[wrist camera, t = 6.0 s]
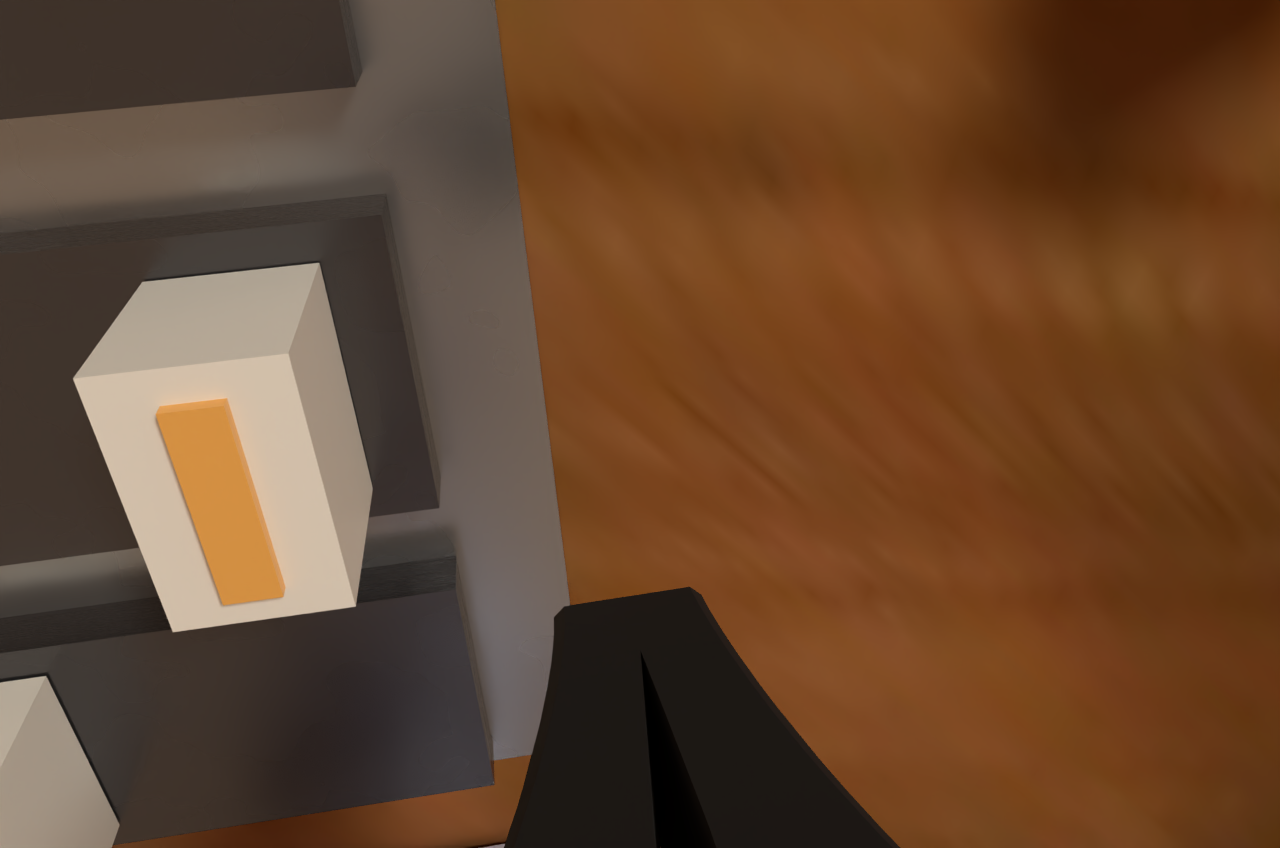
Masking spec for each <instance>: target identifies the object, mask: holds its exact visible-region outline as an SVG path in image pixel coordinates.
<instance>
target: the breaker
mask: <svg viewBox="0 0 1280 848" xmlns="http://www.w3.org/2000/svg"><path fill="white" fill-rule="evenodd" d="M118 828H119V823H118V821H117V818H116V816H115V814H114V812H113V810H112V808H111V806H110V804H109V802H108V800H107V798H106V796H105V794H104V792H103V790H102V788H101V786H100V784H99V782H98V780H97V778H96V776H95V774H94V772H93V770H92V768H91V766H90V764H89V762H88V760H87V758H86V756H85V754H84V752H83V750H82V748H81V746H80V744H79V742H78V740H77V737H76V735H75V733H74V731H73V729H72V727H71V725H70V723H69V721H68V719H67V717H66V715H65V713H64V711H63V709H62V707H61V705H60V703H59V701H58V699H57V697H56V695H55V693H54V691H53V689H52V687H51V685H50V683H49V681H48V679H47V677H46V676H42V677H35V678H28V679H21V680H14V681H7V682H0V848H112V845H113V843H114V840H115V837H116V834H117V831H118Z"/></svg>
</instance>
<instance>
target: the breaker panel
mask: <svg viewBox="0 0 1280 848" xmlns="http://www.w3.org/2000/svg"><path fill="white" fill-rule="evenodd" d="M313 263H320V268H321V272H322V276H323V280H324V284H325V289H326V293H327V297H328V301H329V306H330V310H331V314H332V318H333V322H334V327H335V331H336V335H337V339H338V344H339V348H340V352H341V356H342V360H343V365H344V369H345V373H346V377H347V382H348V386H349V390H350V394H351V398H352V403H353V407H354V411H355V415H356V420H357V424H358V428H359V432H360V436H361V441H362V445H363V449H364V453H365V458H366V462H367V466H368V470H369V475H370V479H371V483H372V487H373V491H372V498H371V505H370V511H369V518H368V525H367V532H366V539H365V546H364V553H363V560H362V567H361V574H360V581H359V588H358V594H357V601H356V607H350V608H342V609H335V610H328V611H321V612H314V613H307V614H300V615H293V616H285V617H278V618H271V619H264V620H257V621H250V622H243V623H235V624H228V625H221V626H214V627H207V628H200V629H193V630H186V631H178V632H173V631H172V629H171V626H170V624H169V621H168V619H167V616H166V613H165V611H164V608H163V606H162V603H161V601H160V598H159V596H158V593H157V591H156V588H155V586H154V583H153V580H152V578H151V575H150V573H149V570H148V568H147V565H146V563H145V560H144V558H143V555H142V553H141V550H140V547H139V545H138V542H137V540H136V537H135V535H134V532H133V530H132V527H131V525H130V522H129V520H128V517H127V514H126V512H125V509H124V507H123V504H122V502H121V499H120V497H119V494H118V492H117V489H116V487H115V484H114V481H113V479H112V476H111V474H110V471H109V469H108V466H107V464H106V461H105V459H104V456H103V454H102V451H101V448H100V446H99V443H98V441H97V438H96V436H95V433H94V431H93V428H92V426H91V423H90V421H89V418H88V416H87V413H86V410H85V408H84V405H83V403H82V400H81V398H80V395H79V393H78V390H77V388H76V385H75V383H74V380H73V378H74V376H75V375H76V374H77V372H78V371H79V369H80V368H81V367H82V365H83V364H84V362H85V361H86V360H87V358H88V357H89V356H90V354H91V353H92V351H93V350H94V349H95V347H96V346H97V344H98V343H99V342H100V340H101V339H102V337H103V336H104V335H105V333H106V332H107V330H108V329H109V328H110V326H111V325H112V324H113V322H114V321H115V319H116V318H117V317H118V315H119V314H120V312H121V311H122V310H123V308H124V307H125V305H126V304H127V303H128V301H129V300H130V298H131V297H132V296H133V294H134V293H135V292H136V290H137V289H138V287H139V286H140V285H141V283H142V282H147V281H156V280H165V279H174V278H184V277H193V276H202V275H211V274H220V273H230V272H239V271H248V270H257V269H267V268H276V267H285V266H294V265H303V264H313ZM569 605H570V600H569V592H568V584H567V576H566V568H565V560H564V552H563V544H562V536H561V528H560V520H559V512H558V504H557V496H556V488H555V480H554V472H553V464H552V456H551V448H550V440H549V432H548V424H547V416H546V408H545V400H544V392H543V384H542V376H541V368H540V360H539V352H538V344H537V336H536V328H535V320H534V312H533V304H532V296H531V288H530V280H529V272H528V264H527V256H526V248H525V240H524V232H523V224H522V216H521V208H520V199H519V191H518V183H517V175H516V167H515V159H514V151H513V143H512V135H511V127H510V119H509V111H508V103H507V95H506V87H505V79H504V71H503V63H502V55H501V47H500V39H499V31H498V23H497V15H496V7H495V0H0V682H7V681H14V680H21V679H28V678H35V677H42V676H46V677H47V679H48V681H49V683H50V685H51V687H52V689H53V691H54V693H55V695H56V697H57V699H58V701H59V703H60V705H61V707H62V709H63V711H64V713H65V715H66V717H67V719H68V721H69V723H70V725H71V727H72V729H73V731H74V733H75V735H76V737H77V740H78V742H79V744H80V746H81V748H82V750H83V752H84V754H85V756H86V758H87V760H88V762H89V764H90V766H91V768H92V770H93V772H94V774H95V776H96V778H97V780H98V782H99V784H100V786H101V788H102V790H103V792H104V794H105V796H106V798H107V800H108V802H109V804H110V806H111V808H112V810H113V812H114V814H115V816H116V818H117V821H118V823H119V828H118V831H117V834H116V837H115V840H114V843H113V845H118V844H124V843H130V842H137V841H143V840H149V839H155V838H162V837H168V836H174V835H181V834H187V833H193V832H200V831H206V830H212V829H219V828H225V827H231V826H238V825H244V824H250V823H256V822H263V821H269V820H275V819H282V818H288V817H294V816H301V815H307V814H313V813H320V812H326V811H332V810H338V809H345V808H351V807H357V806H364V805H370V804H376V803H383V802H389V801H395V800H402V799H408V798H414V797H421V796H427V795H433V794H439V793H446V792H452V791H458V790H465V789H471V788H477V787H484V786H490V785H494V760H500V759H506V758H512V757H519V756H525V755H532V752H533V748H534V744H535V740H536V736H537V732H538V729H539V725H540V720H541V715H542V711H543V706H544V701H545V696H546V691H547V686H548V680H549V674H550V667H551V660H552V650H553V640H554V617H555V616H556V614H557V613H558V612H559V611H560V610H561V609H562V608H563V607H564V606H569Z"/></svg>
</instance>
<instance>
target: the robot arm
mask: <svg viewBox="0 0 1280 848" xmlns="http://www.w3.org/2000/svg"><path fill="white" fill-rule="evenodd" d="M660 846H661V848H900V847H899V846H898V845H897V844H896V843H895V842H894V841H893V840H892V839H891V838H890V837H889V836H888V835H887V834H886V833H885V832H884V830H883V829H882V828H881V827H880V826H879V825H878V824H877V823H876V822H875V821H874V820H873V819H872V817H871V816H870V815H869V814H868V813H867V812H866V811H865V810H864V809H863V808H862V807H861V806H860V804H859V803H858V802H857V801H856V800H855V799H854V798H853V797H852V796H851V795H850V794H849V792H848V791H847V790H846V789H845V788H844V787H843V786H842V785H841V784H840V782H839V781H838V780H837V779H836V778H835V777H834V775H833V774H832V773H831V772H830V771H829V770H828V769H827V767H826V766H825V765H824V764H823V763H822V762H821V760H820V759H819V758H818V757H817V756H816V755H815V753H814V752H813V751H812V750H811V748H810V747H809V746H808V745H807V743H806V742H805V741H804V740H803V739H802V737H801V736H800V735H799V734H798V732H797V731H796V730H795V729H794V728H793V726H792V725H791V724H790V723H789V721H788V720H787V719H786V718H785V716H784V715H783V714H782V713H781V712H780V710H779V709H778V708H777V707H776V705H775V704H774V703H773V701H772V700H771V699H770V697H769V696H768V695H767V693H766V692H765V691H764V690H763V688H762V687H761V686H760V684H759V683H758V681H757V680H756V679H755V677H754V676H753V675H752V673H751V672H750V670H749V669H748V668H747V666H746V665H745V663H744V662H743V661H742V659H741V658H740V656H739V655H738V654H737V652H736V651H735V649H734V648H733V646H732V645H731V643H730V642H729V640H728V639H727V637H726V636H725V634H724V633H723V631H722V629H721V628H720V626H719V625H718V623H717V621H716V620H715V618H714V617H713V615H712V613H711V612H710V610H709V608H708V606H707V605H706V603H705V601H704V599H703V597H702V595H701V594H699V593H698V592H696V591H695V590H693V589H692V588H691V587H686V588H680V589H673V590H667V591H660V592H654V593H647V594H641V595H634V596H628V597H621V598H615V599H608V600H602V601H595V602H589V603H582V604H576V605H569V606H564V607H563V608H562V609H561V610H560V611H559V612H558V613H557V614H556V616H555V617H554V640H553V650H552V660H551V667H550V674H549V680H548V686H547V691H546V696H545V701H544V706H543V711H542V715H541V720H540V725H539V729H538V732H537V736H536V740H535V744H534V748H533V752H532V755H531V759H530V763H529V767H528V771H527V775H526V778H525V782H524V786H523V790H522V793H521V796H520V800H519V803H518V807H517V810H516V813H515V816H514V819H513V822H512V825H511V828H510V831H509V834H508V837H507V840H506V843H505V844H499V845H493V846H487V847H480V848H660Z"/></svg>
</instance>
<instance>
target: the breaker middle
mask: <svg viewBox="0 0 1280 848" xmlns="http://www.w3.org/2000/svg"><path fill="white" fill-rule="evenodd" d="M73 380H74V383H75V385H76V388H77V390H78V393H79V395H80V398H81V400H82V403H83V405H84V408H85V410H86V413H87V416H88V418H89V421H90V423H91V426H92V428H93V431H94V433H95V436H96V438H97V441H98V443H99V446H100V448H101V451H102V454H103V456H104V459H105V461H106V464H107V466H108V469H109V471H110V474H111V476H112V479H113V481H114V484H115V487H116V489H117V492H118V494H119V497H120V499H121V502H122V504H123V507H124V509H125V512H126V514H127V517H128V520H129V522H130V525H131V527H132V530H133V532H134V535H135V537H136V540H137V542H138V545H139V547H140V550H141V553H142V555H143V558H144V560H145V563H146V565H147V568H148V570H149V573H150V575H151V578H152V580H153V583H154V586H155V588H156V591H157V593H158V596H159V598H160V601H161V603H162V606H163V608H164V611H165V613H166V616H167V619H168V621H169V624H170V626H171V629H172V631H173V632H178V631H186V630H193V629H200V628H207V627H214V626H221V625H228V624H235V623H243V622H250V621H257V620H264V619H271V618H278V617H285V616H293V615H300V614H307V613H314V612H321V611H328V610H335V609H342V608H350V607H356V601H357V594H358V588H359V581H360V574H361V567H362V560H363V553H364V546H365V539H366V532H367V525H368V518H369V511H370V505H371V498H372V491H373V487H372V483H371V479H370V475H369V470H368V466H367V462H366V458H365V453H364V449H363V445H362V441H361V436H360V432H359V428H358V424H357V420H356V415H355V411H354V407H353V403H352V398H351V394H350V390H349V386H348V382H347V377H346V373H345V369H344V365H343V360H342V356H341V352H340V348H339V344H338V339H337V335H336V331H335V327H334V322H333V318H332V314H331V310H330V306H329V301H328V297H327V293H326V289H325V284H324V280H323V276H322V272H321V268H320V263H313V264H303V265H294V266H285V267H276V268H267V269H257V270H248V271H239V272H230V273H220V274H211V275H202V276H193V277H184V278H174V279H165V280H156V281H147V282H142V283H141V285H140V286H139V287H138V289H137V290H136V292H135V293H134V294H133V296H132V297H131V298H130V300H129V301H128V303H127V304H126V305H125V307H124V308H123V310H122V311H121V312H120V314H119V315H118V317H117V318H116V319H115V321H114V322H113V324H112V325H111V326H110V328H109V329H108V330H107V332H106V333H105V335H104V336H103V337H102V339H101V340H100V342H99V343H98V344H97V346H96V347H95V349H94V350H93V351H92V353H91V354H90V356H89V357H88V358H87V360H86V361H85V362H84V364H83V365H82V367H81V368H80V369H79V371H78V372H77V374H76V375H75V376H74V378H73Z"/></svg>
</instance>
